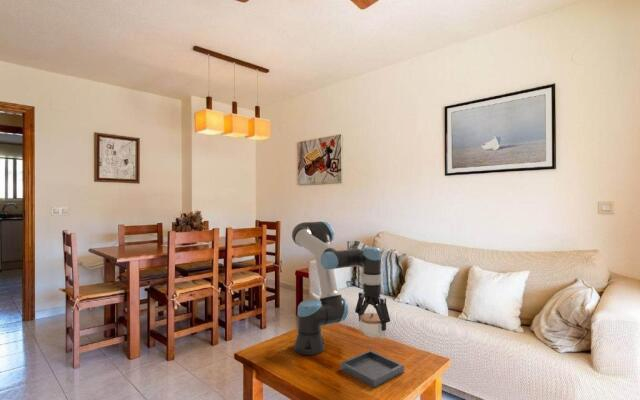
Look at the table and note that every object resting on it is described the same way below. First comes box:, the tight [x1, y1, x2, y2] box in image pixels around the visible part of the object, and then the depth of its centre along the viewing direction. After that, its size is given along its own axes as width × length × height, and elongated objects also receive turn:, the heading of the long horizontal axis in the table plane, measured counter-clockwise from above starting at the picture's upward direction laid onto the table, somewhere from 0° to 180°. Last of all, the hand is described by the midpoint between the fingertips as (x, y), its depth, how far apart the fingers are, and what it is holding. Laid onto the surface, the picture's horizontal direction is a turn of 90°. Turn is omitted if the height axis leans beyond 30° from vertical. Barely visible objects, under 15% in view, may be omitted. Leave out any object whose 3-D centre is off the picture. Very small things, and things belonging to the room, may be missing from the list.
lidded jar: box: [359, 312, 381, 338], centre depth 152 cm, size 11×11×9 cm
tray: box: [339, 349, 405, 389], centre depth 152 cm, size 19×19×3 cm
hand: (371, 333), depth 152 cm, fingers closed on lidded jar, 11 cm apart
